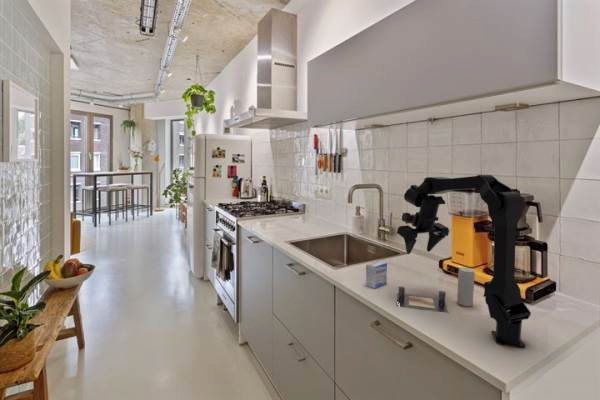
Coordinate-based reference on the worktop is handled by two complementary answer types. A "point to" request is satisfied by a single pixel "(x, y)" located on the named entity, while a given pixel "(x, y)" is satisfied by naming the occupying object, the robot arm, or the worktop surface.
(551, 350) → the worktop surface
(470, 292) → the beverage can
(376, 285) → the medicine box
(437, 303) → the post gate
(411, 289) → the worktop surface
